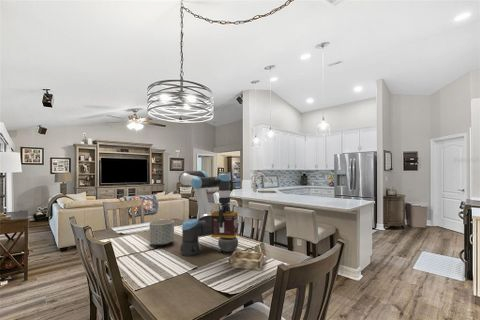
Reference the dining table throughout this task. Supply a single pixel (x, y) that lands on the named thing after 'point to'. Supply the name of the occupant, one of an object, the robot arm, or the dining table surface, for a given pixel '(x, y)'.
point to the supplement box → (225, 224)
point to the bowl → (228, 244)
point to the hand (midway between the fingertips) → (225, 230)
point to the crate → (246, 260)
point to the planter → (161, 232)
